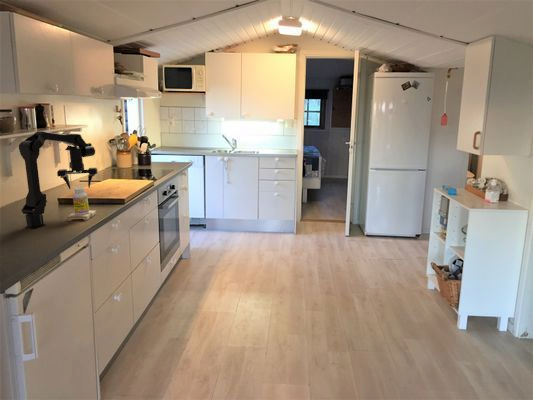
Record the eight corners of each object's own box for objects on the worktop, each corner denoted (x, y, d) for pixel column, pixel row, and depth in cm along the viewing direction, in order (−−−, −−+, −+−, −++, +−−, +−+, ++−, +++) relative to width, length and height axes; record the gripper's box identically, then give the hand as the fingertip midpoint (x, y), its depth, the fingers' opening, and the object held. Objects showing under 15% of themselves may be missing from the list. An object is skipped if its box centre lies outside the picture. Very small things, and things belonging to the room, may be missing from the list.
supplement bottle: (72, 215, 217) (69, 189, 214) (78, 211, 223) (75, 187, 220) (85, 215, 217) (82, 189, 214) (91, 211, 223) (88, 186, 220)
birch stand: (87, 220, 214) (86, 216, 214) (67, 220, 215) (66, 216, 214) (97, 213, 226) (96, 210, 226) (78, 214, 226) (77, 210, 226)
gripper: (97, 155, 234) (99, 184, 237) (59, 157, 229) (62, 186, 232) (95, 158, 223) (98, 188, 227) (55, 160, 218) (59, 190, 222)
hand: (79, 188), depth 227 cm, fingers open, 9 cm apart
